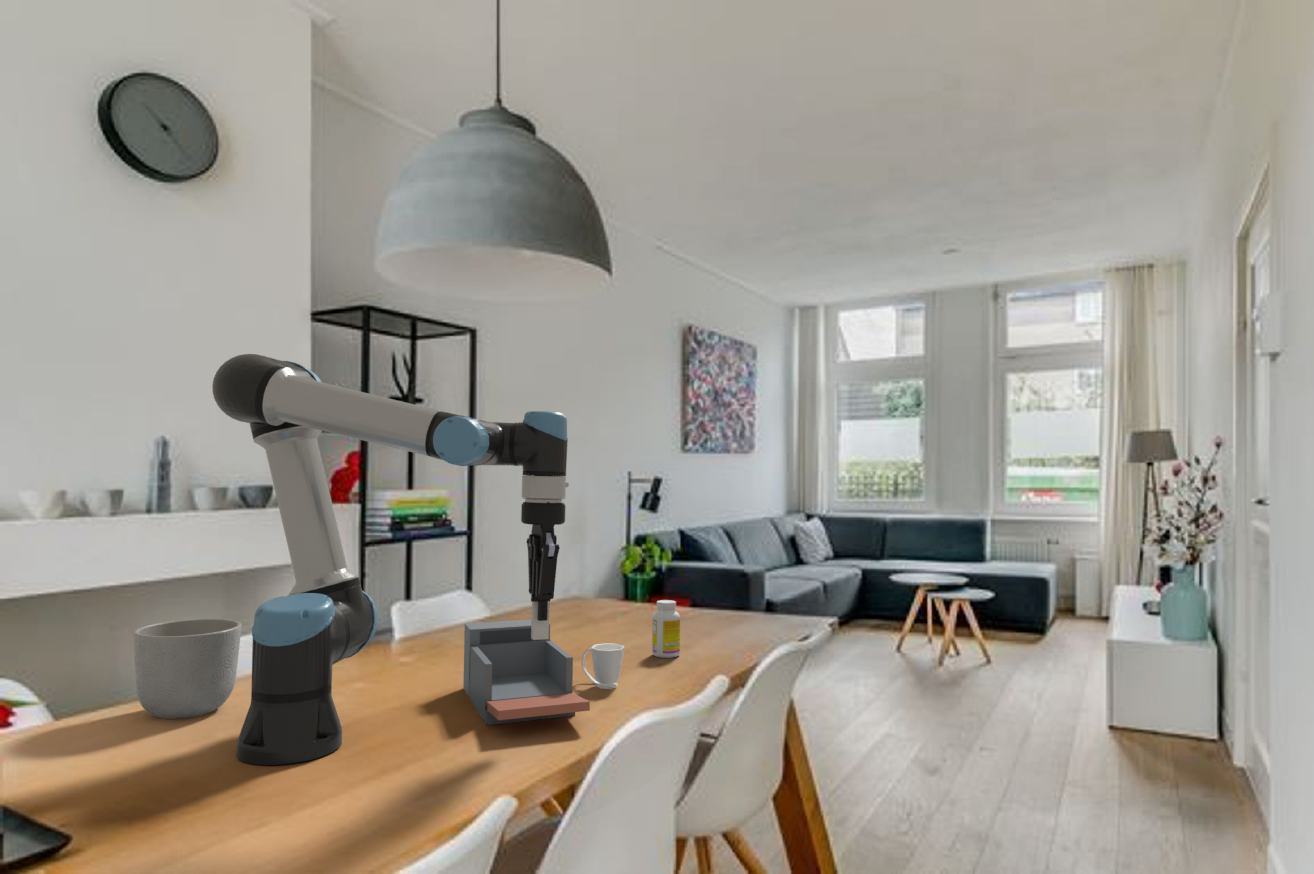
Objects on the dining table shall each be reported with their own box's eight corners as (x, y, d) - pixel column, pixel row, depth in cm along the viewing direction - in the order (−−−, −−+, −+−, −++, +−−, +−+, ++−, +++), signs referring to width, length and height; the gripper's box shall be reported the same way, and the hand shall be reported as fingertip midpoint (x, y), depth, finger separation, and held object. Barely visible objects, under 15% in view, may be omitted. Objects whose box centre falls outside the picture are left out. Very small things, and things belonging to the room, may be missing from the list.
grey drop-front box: (486, 724, 141) (487, 666, 142) (469, 697, 158) (470, 645, 158) (575, 715, 147) (576, 659, 148) (549, 689, 164) (550, 639, 164)
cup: (611, 692, 162) (611, 651, 163) (571, 685, 168) (572, 645, 168) (631, 684, 168) (631, 645, 169) (592, 677, 174) (592, 639, 174)
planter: (222, 693, 158) (224, 614, 159) (252, 713, 146) (255, 627, 147) (120, 711, 147) (123, 626, 147) (143, 733, 134) (146, 641, 135)
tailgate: (486, 709, 143) (498, 720, 133) (486, 701, 143) (498, 710, 133) (572, 701, 148) (589, 710, 139) (572, 692, 149) (589, 701, 139)
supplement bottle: (685, 654, 196) (685, 600, 197) (670, 659, 191) (671, 604, 191) (661, 650, 200) (662, 598, 200) (646, 655, 194) (647, 601, 195)
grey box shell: (469, 697, 158) (470, 629, 158) (463, 688, 164) (464, 623, 165) (549, 689, 164) (550, 624, 164) (540, 681, 170) (541, 618, 171)
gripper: (575, 502, 136) (571, 645, 135) (554, 499, 148) (551, 629, 147) (531, 502, 133) (527, 648, 132) (513, 499, 145) (509, 632, 144)
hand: (539, 638), depth 140 cm, fingers closed
